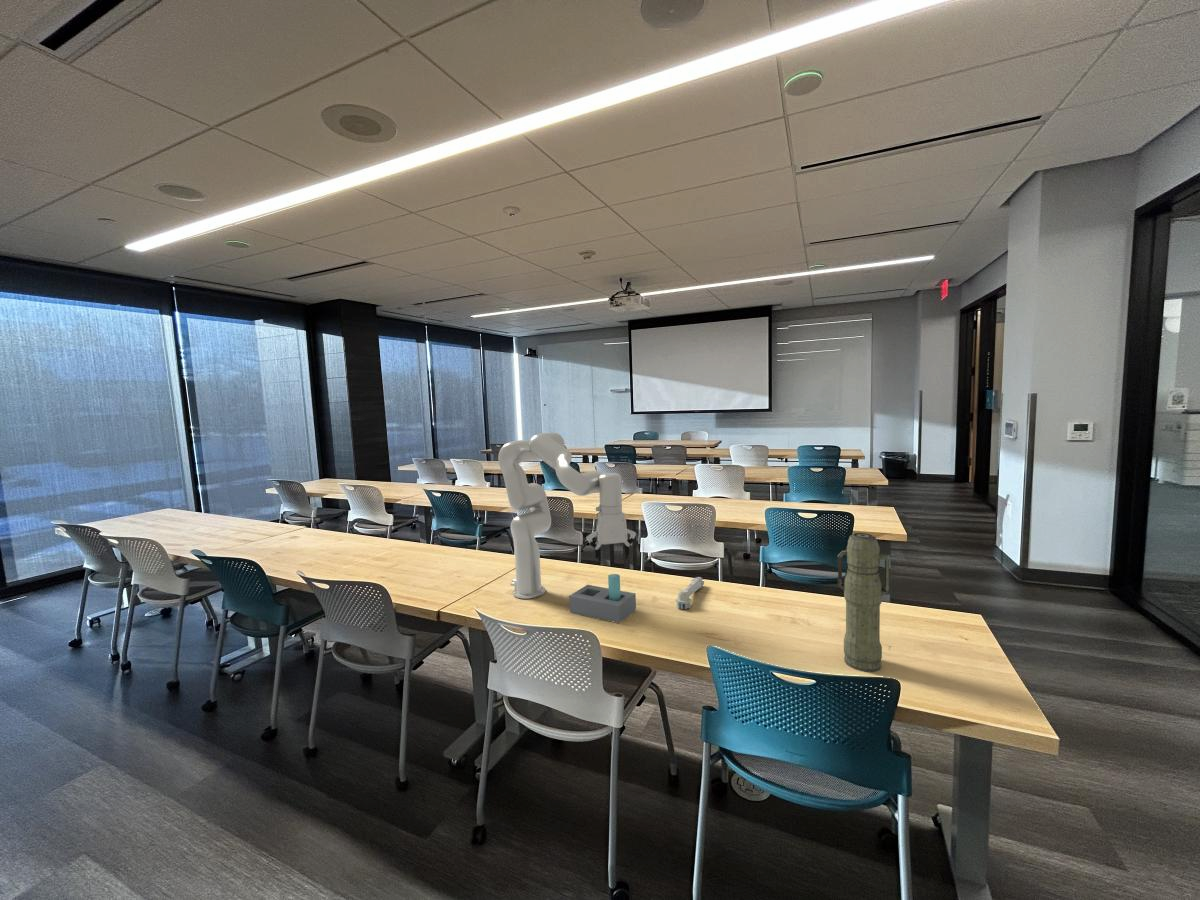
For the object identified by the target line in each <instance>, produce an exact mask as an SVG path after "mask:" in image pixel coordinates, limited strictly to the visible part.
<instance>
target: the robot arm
mask: <svg viewBox="0 0 1200 900" xmlns="http://www.w3.org/2000/svg"><path fill="white" fill-rule="evenodd" d="M565 446H566V445H565V440H564V438H563V437H562V435H561V434H559V433H557V432H555V431H554V432H551V431H550V432H542V433H541V432H540V433H537V434H535V435H533V436H532V437H531V438H530V439H521V440H520V439H519V440H513V441H510V442H508V443H505V444H504V445H503V446H502V447H501V448H500V450H499V452H498V455H497V456H498V457H497V458H498V459H497V460H498V465H499V468H500V471H501V473H502V475H503V480H504V485H505V489H506V495H507V498H508V502H509V506H510V508H511V509H512V510H514V511H519V512H520V511H524V510H528V509H529V510H530V511H527V512H524V513H521V514H518V515H517V516H515V517H514V518H513V519H512V520H511V523H510V531H511V532H510V533H511V536H512V541H513V547H514V563H515V564H514V565H515V578H513V579H512V580H511V582H510V583H509V584H510V585H509V586H513V587H514V589H513V591H512V595H513V597H515V598H518V599H524V600H525V599H526V600H527V599H535V598H539V597H540V596H543V595H544V594H545V593H546V587H545V586H543V585H542V577H541V576H542V573H541V557H540V547H539V543H538V541H537V539H536V536H538V535H540V534H543V533H546V532H547V531H549V530H550V528H551V525H552V515H551V511H550V506H549V502H548V497H547V493H546V491H545V489H544V487H543V486H542V485H541V484H538V483H535V482H531V483H529V482H528V478H527V474H526V472H525V470H524V469H523V467H522V466H521V465H520V463H526V462H532V461H537V460H542V461H543V462H544V463H545V464H547V465H548V466H549V467H550V468H552V469H553V470H554V471H555V474H556V477H557V479H558V481H559V482H560V484H561V485H562V486H564V487H565V488H566V489H568V490H569V491H570V492H572V493H573V494H575V495H576V496H579V497H582V496H583V497H584V496H588V495H591V494H595V493H599V505H598V506H596V507H595V511H596V512H598V514H597V519H596V530H595V531H593V532H592V533H590V534H588V535H586V537H585V538H586V540H587V542H588V543H589V545H590V546H591V547H592V548H593V549H594V557H595V558H594V559H596V561H598V562H601V549H600V547H601V546H602V545H614V544H622V543H623V545H622V556H623V557H624V558H625V559H629V557H628V556H629V554H630V546H631V545H632V543H633V542H634V540H635V538H636V536H637V533H636V531H633V530H630V529H629V528H627V518H626V513H625V512H623V506H622V505H623V501H622V500H623V495H622V488H623V487H622V476H621V475H620V474H619V473H618V472H604V471H602V470H592V471H587V472H586V471H585V472H582V473H581V472H579V471H577V470H576V469H574V468H573V467H572V466H571V465H570V463H571V462H572V458H573V455H572V452H571V451H570V450H569V449H567V448H566V447H565ZM628 535H629V536H630V537H628ZM594 538H595V539H596V542H594V541H593V539H594Z"/></svg>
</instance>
